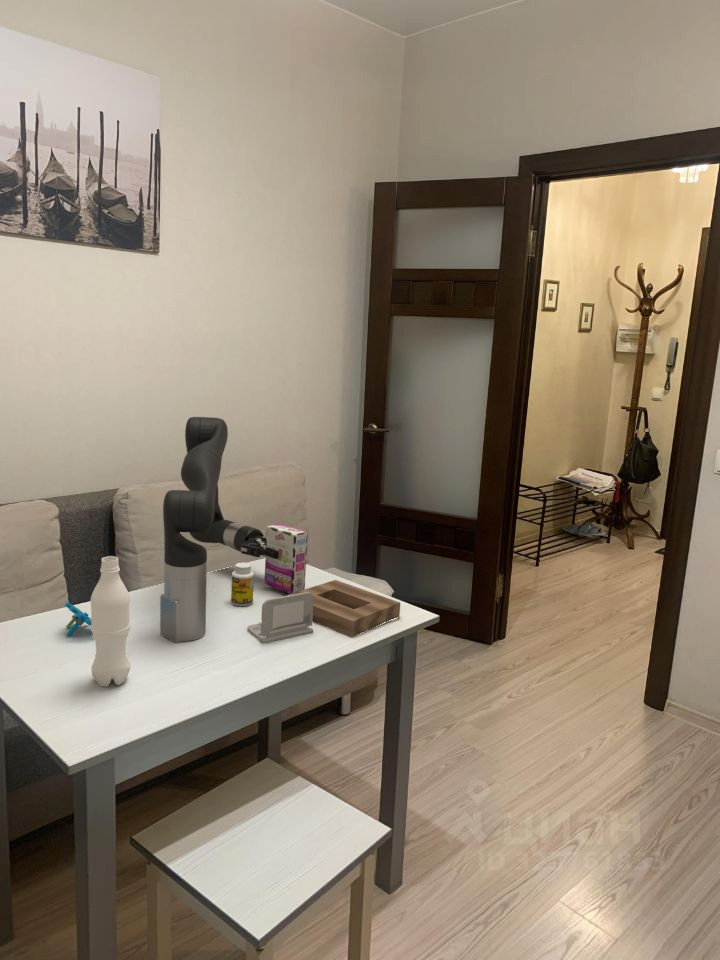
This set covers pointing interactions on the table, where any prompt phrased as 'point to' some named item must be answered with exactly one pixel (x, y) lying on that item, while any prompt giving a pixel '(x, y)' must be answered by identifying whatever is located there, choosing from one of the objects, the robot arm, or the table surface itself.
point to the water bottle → (110, 625)
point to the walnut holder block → (350, 607)
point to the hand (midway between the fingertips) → (285, 553)
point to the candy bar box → (286, 558)
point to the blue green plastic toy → (77, 618)
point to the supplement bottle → (242, 585)
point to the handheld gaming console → (284, 618)
